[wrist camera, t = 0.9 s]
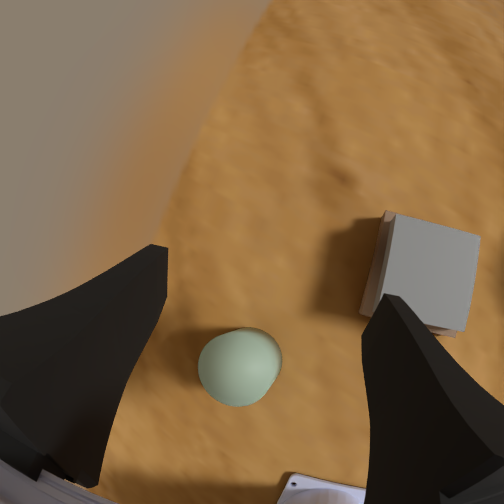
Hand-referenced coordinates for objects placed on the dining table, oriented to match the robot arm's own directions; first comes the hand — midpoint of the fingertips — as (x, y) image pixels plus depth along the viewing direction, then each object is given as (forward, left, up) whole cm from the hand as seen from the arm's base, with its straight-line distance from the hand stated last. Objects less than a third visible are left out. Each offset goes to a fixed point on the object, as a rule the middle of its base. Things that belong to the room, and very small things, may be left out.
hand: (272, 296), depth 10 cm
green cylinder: (-6, +2, -13) cm, 14 cm away
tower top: (+3, -8, -11) cm, 13 cm away
